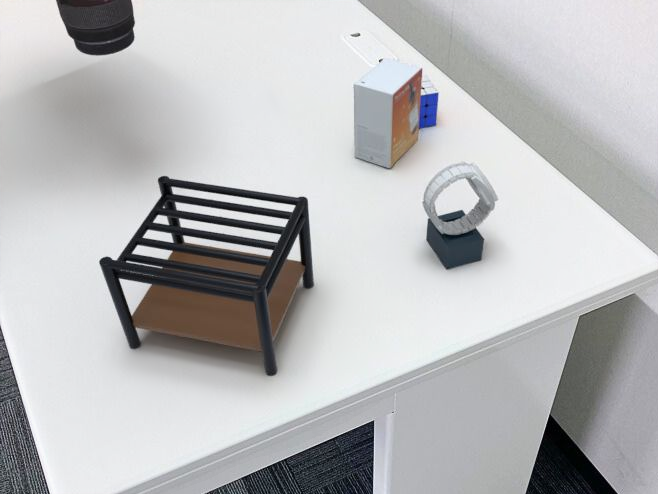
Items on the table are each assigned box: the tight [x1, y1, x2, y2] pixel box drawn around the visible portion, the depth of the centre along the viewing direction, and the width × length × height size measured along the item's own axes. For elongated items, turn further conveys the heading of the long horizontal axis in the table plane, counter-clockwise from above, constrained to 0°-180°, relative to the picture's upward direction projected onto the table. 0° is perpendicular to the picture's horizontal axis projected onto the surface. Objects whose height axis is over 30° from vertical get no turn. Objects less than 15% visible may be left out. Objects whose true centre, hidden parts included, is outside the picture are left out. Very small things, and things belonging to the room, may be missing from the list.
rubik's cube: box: [418, 74, 439, 129], centre depth 102 cm, size 5×5×5 cm
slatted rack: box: [98, 175, 315, 376], centre depth 75 cm, size 16×14×12 cm
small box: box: [353, 57, 423, 169], centre depth 95 cm, size 8×6×10 cm
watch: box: [421, 161, 499, 270], centre depth 81 cm, size 6×8×11 cm
